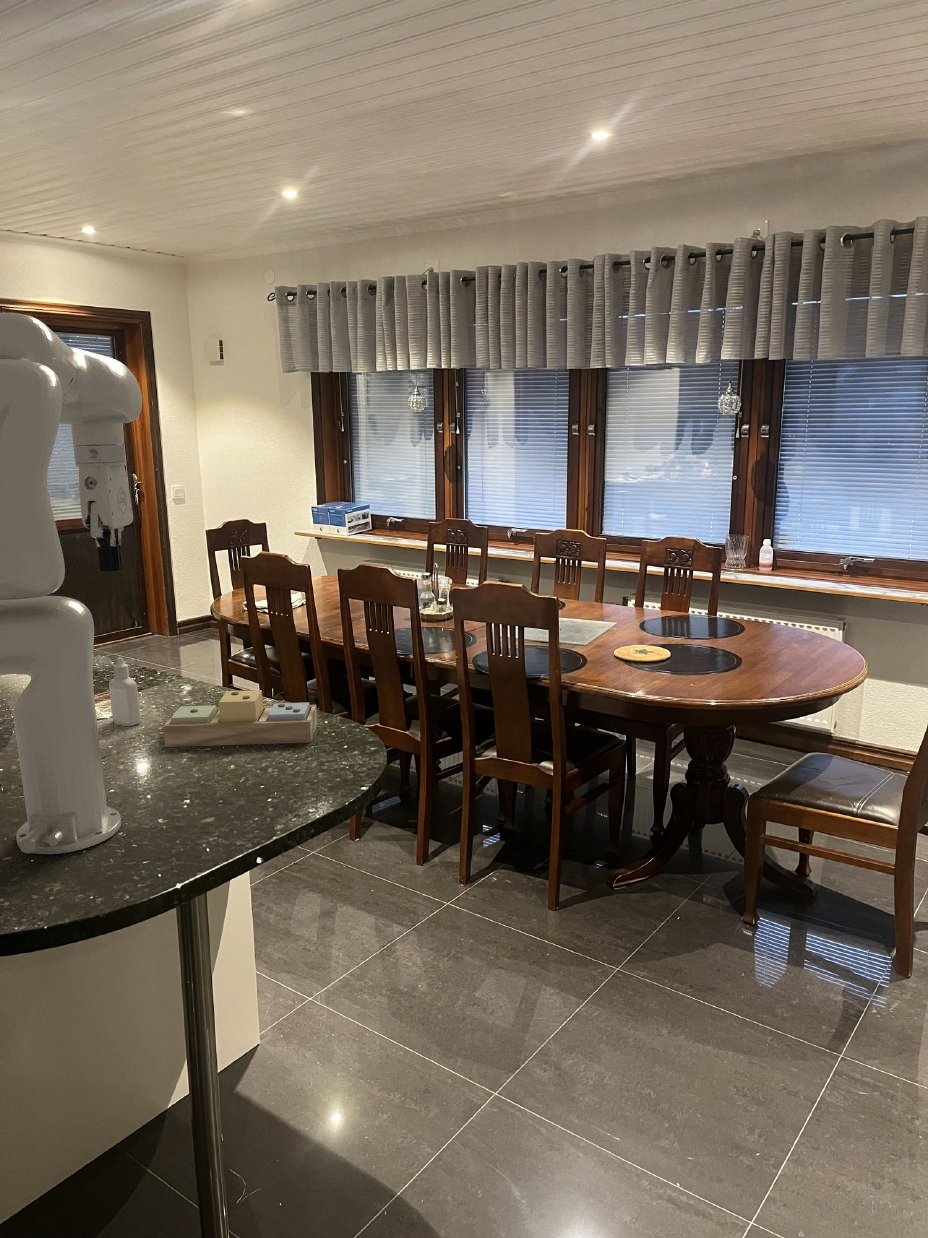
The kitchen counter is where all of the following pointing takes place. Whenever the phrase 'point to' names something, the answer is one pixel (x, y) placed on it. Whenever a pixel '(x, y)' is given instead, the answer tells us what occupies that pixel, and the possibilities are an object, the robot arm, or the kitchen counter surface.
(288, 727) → the tray
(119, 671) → the eye dropper bottle
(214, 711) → the tile one sage
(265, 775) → the kitchen counter surface
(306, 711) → the tile three blue
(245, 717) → the tile two ochre
